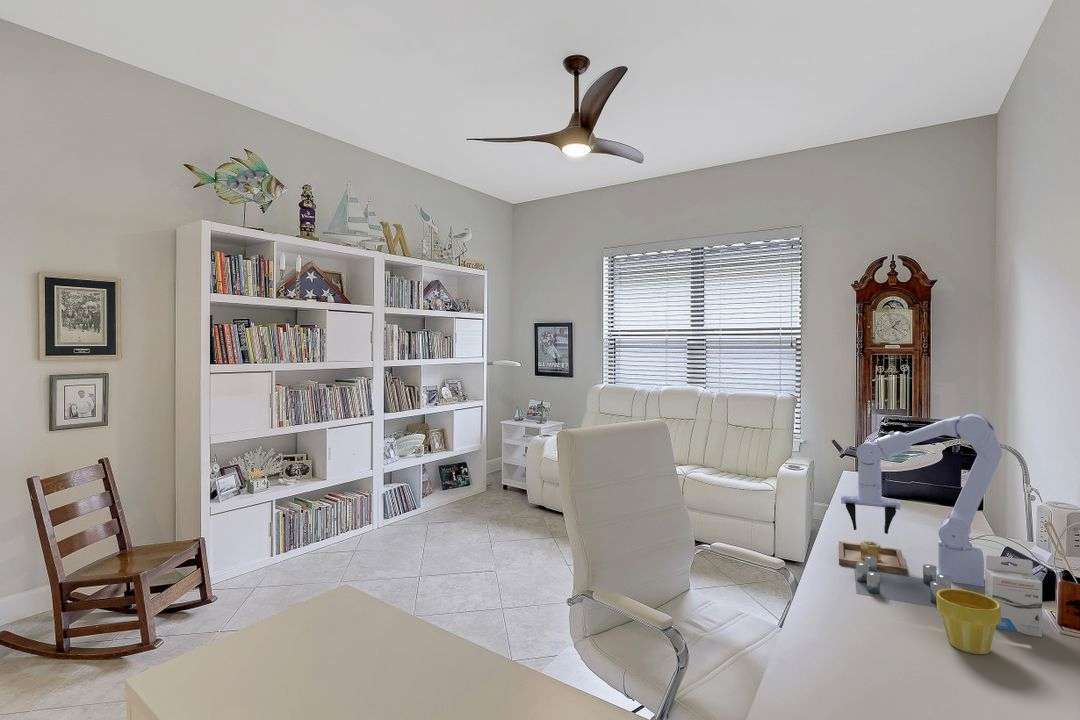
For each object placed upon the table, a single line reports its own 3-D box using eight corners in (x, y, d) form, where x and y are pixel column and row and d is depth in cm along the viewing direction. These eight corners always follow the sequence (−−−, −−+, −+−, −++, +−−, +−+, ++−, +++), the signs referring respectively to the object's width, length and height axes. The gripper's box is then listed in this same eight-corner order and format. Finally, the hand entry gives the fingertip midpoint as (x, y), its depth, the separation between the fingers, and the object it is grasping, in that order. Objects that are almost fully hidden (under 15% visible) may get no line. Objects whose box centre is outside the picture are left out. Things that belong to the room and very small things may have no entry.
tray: (900, 556, 159) (900, 549, 159) (907, 576, 145) (906, 568, 145) (838, 547, 166) (838, 541, 166) (838, 566, 152) (838, 558, 152)
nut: (881, 558, 156) (881, 543, 156) (877, 563, 152) (876, 547, 152) (864, 554, 159) (864, 539, 159) (859, 559, 155) (859, 543, 155)
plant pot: (938, 627, 118) (938, 583, 118) (1000, 643, 111) (1000, 596, 111) (935, 648, 110) (934, 600, 110) (1001, 666, 103) (1001, 615, 103)
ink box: (992, 629, 117) (991, 562, 117) (984, 619, 121) (984, 554, 121) (1043, 638, 113) (1042, 568, 113) (1033, 627, 118) (1033, 559, 118)
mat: (945, 583, 140) (945, 582, 140) (960, 613, 124) (960, 611, 124) (854, 569, 150) (854, 567, 150) (856, 595, 134) (856, 593, 134)
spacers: (945, 584, 139) (945, 566, 139) (957, 608, 126) (956, 589, 126) (855, 570, 148) (855, 553, 148) (857, 591, 135) (857, 573, 135)
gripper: (898, 483, 155) (899, 530, 155) (840, 478, 162) (841, 523, 162) (901, 488, 149) (901, 537, 149) (841, 483, 156) (841, 530, 156)
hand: (870, 530), depth 155 cm, fingers open, 7 cm apart
